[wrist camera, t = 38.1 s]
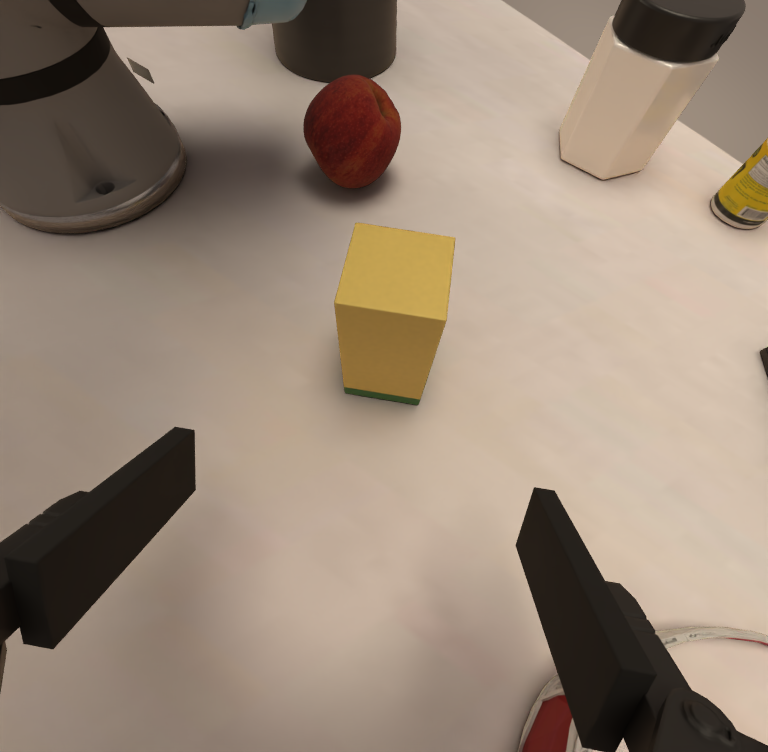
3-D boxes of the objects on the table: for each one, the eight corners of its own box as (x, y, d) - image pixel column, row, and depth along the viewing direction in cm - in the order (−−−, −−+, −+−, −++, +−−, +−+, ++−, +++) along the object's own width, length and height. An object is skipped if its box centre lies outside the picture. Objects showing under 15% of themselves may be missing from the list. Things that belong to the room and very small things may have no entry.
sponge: (344, 393, 26) (333, 302, 17) (358, 331, 28) (355, 221, 19) (418, 405, 26) (446, 320, 17) (426, 342, 28) (455, 237, 19)
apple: (382, 215, 34) (387, 119, 26) (297, 195, 34) (279, 96, 27) (404, 161, 37) (413, 62, 30) (325, 143, 37) (315, 43, 30)
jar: (646, 187, 37) (763, 30, 26) (559, 174, 37) (639, 13, 26) (634, 130, 41) (732, -28, 30) (556, 118, 41) (625, -43, 30)
